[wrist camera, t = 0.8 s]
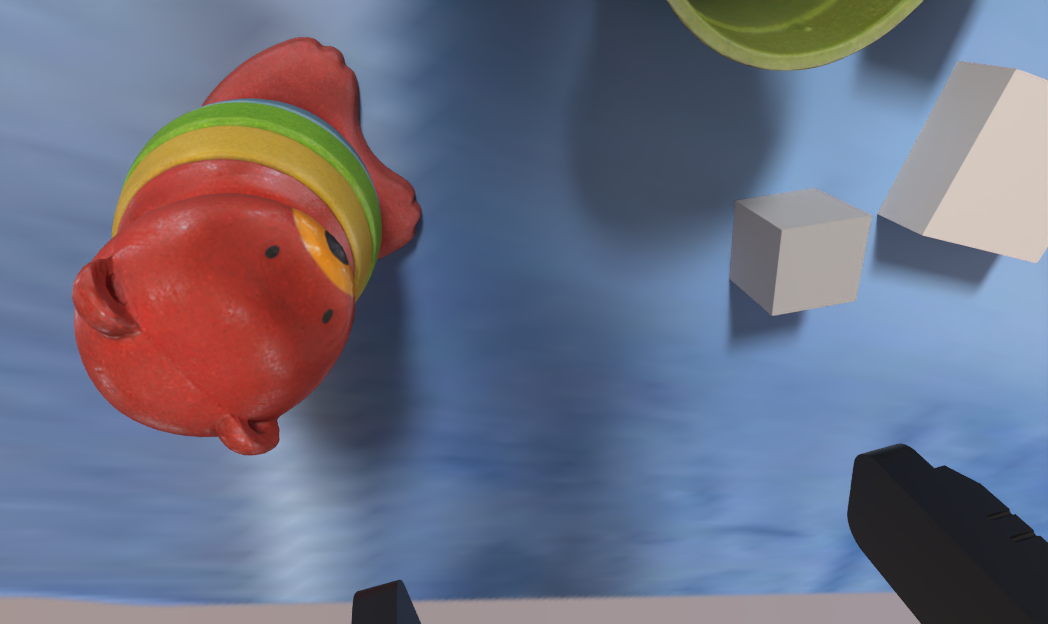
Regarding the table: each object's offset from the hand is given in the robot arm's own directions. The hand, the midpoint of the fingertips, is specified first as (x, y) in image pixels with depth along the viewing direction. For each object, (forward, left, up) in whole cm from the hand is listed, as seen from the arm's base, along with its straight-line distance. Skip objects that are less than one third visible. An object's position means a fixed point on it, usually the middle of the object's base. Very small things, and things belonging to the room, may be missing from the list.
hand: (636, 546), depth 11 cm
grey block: (0, +18, -25) cm, 31 cm away
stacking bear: (+2, -9, -25) cm, 26 cm away
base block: (-7, +29, -25) cm, 39 cm away
